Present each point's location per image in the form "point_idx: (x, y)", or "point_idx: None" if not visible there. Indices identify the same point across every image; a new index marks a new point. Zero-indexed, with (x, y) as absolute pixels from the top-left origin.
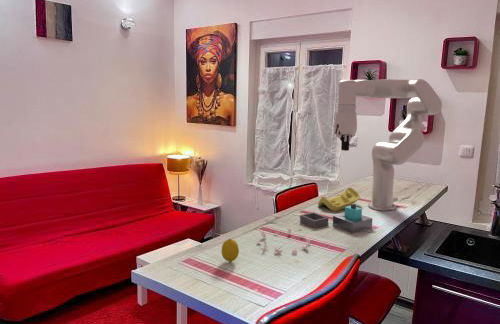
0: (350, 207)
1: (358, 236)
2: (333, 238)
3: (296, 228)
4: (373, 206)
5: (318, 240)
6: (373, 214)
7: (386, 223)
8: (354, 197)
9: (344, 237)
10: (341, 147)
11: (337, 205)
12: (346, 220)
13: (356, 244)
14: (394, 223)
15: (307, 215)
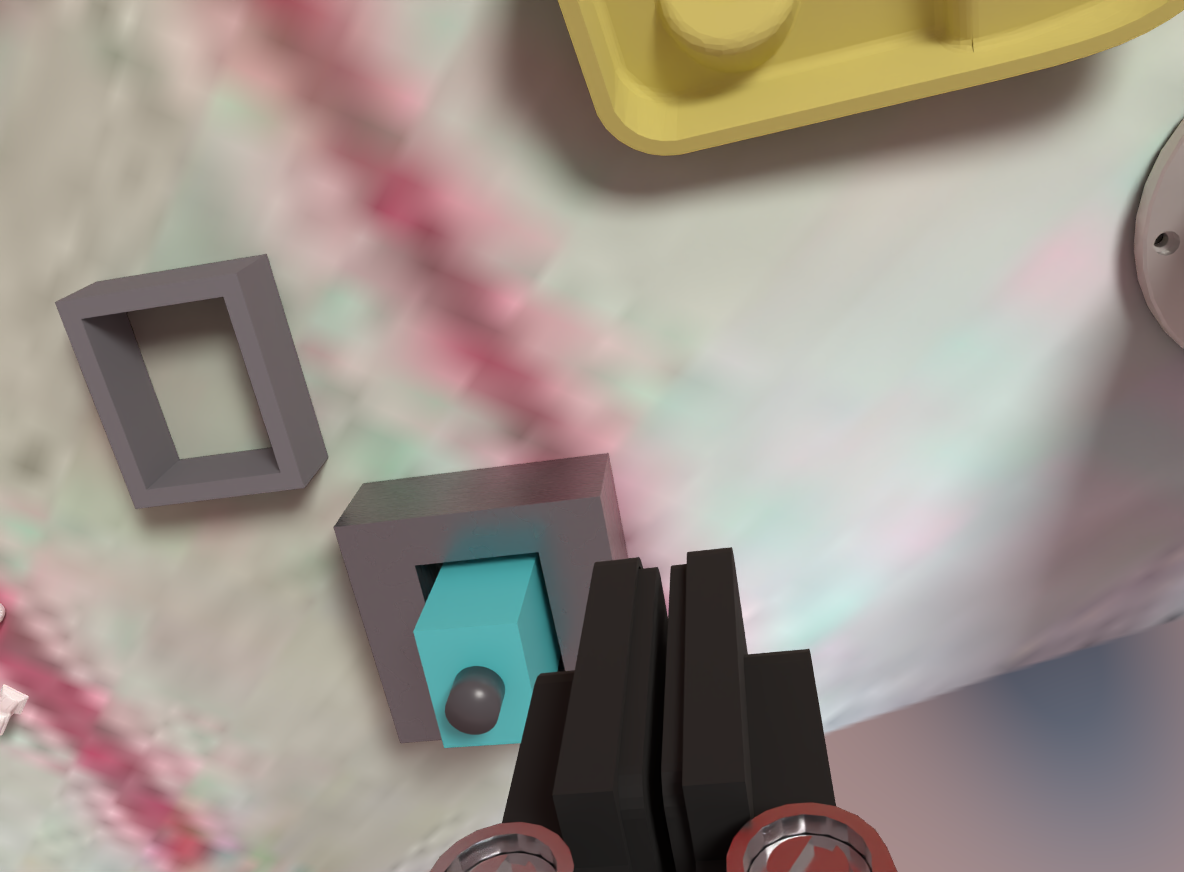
0: (458, 668)
1: (424, 746)
2: (225, 702)
3: (12, 420)
4: (1171, 231)
5: (102, 687)
6: (969, 394)
7: (857, 639)
8: None
9: (313, 719)
10: (590, 608)
11: (717, 60)
12: (385, 671)
13: (326, 832)
14: (924, 667)
15: (148, 305)
